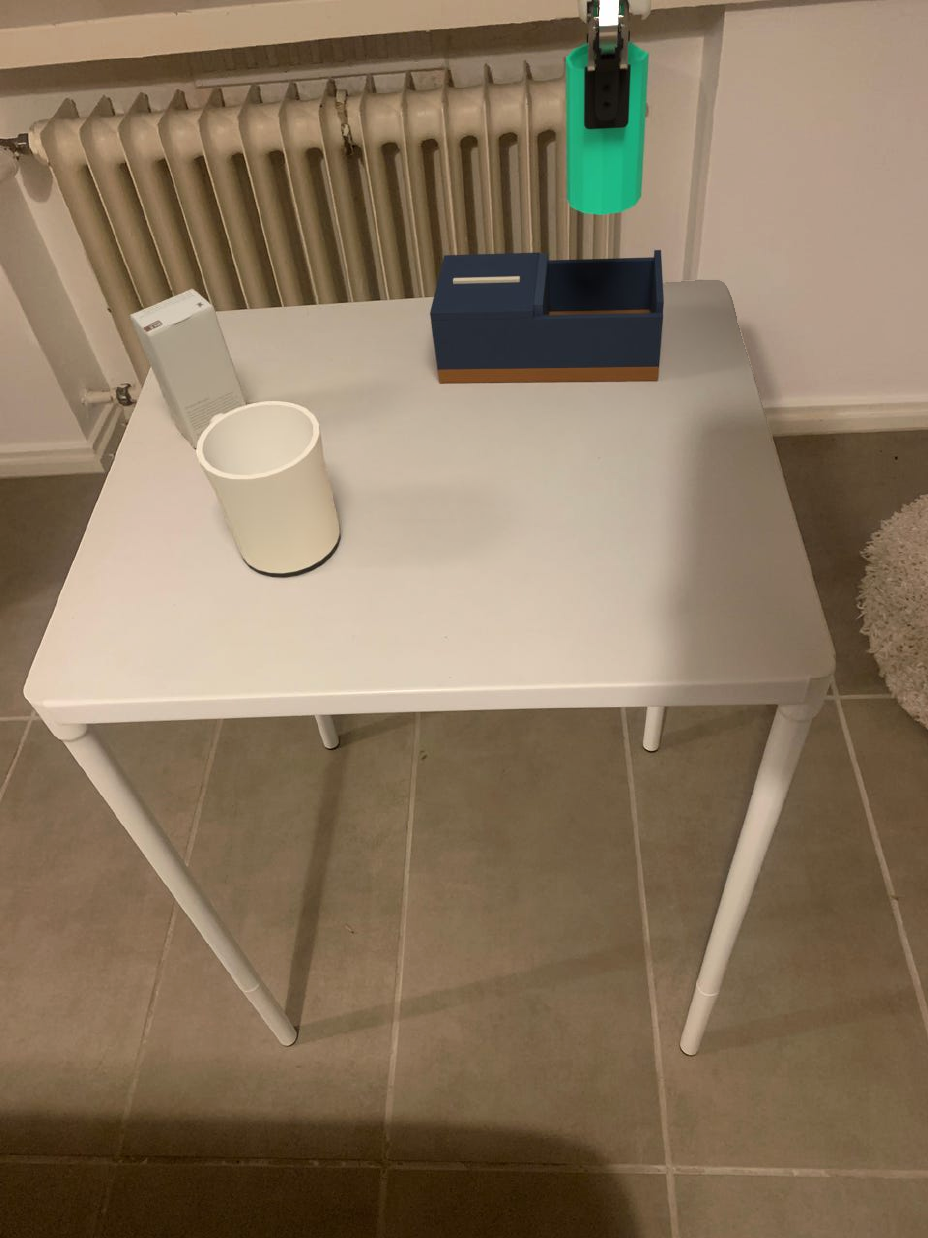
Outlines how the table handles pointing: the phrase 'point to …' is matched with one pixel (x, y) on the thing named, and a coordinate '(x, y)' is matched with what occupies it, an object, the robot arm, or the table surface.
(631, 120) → the candle
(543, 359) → the navy slotted box
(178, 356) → the cosmetic box
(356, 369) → the table surface
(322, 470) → the mug
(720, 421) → the table surface
